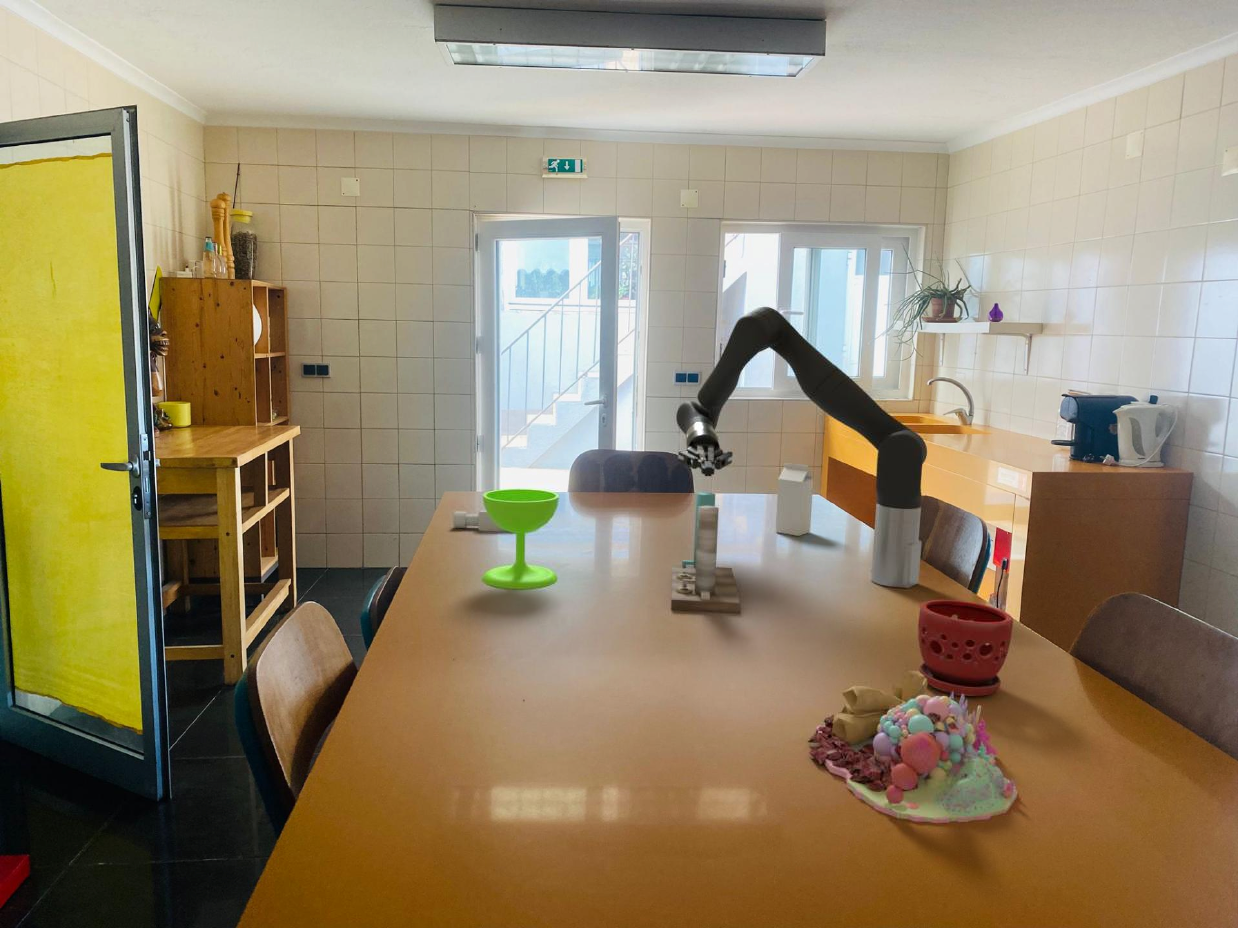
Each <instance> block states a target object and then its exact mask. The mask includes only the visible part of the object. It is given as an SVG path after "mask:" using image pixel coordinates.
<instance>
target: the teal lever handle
mask: <svg viewBox="0 0 1238 928" xmlns="http://www.w3.org/2000/svg"><path fill="white" fill-rule="evenodd" d="M695 496H696V497H695V500H696V501H695V516H694V517H695V519H694V520H695V521H694V523H695V525H694V545H693V546H694V547H693V560H684V559H683V560H682V563H681V566H682V568H686V566H693V567H694V568H696V544H697V520H698V507H699V506H715V507H716V493H712V492H706V491H705V492H704V491H703V492H696V494H695Z"/></svg>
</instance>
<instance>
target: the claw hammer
mask: <svg viewBox="0 0 1238 928" xmlns="http://www.w3.org/2000/svg"><path fill="white" fill-rule="evenodd" d="M452 518H453V521H452V522H453V523H452V525H453V528H454V529H467V527H468V526H469V527H478V531H481V532H482V531H483V532H508V531H507V530H504V529H502V528H501V527H499V526H498V525H497V524H495V523H494V522H493V520H492V519H491V518H490V517H489V515H488V513H487V511H486V510H478V514H476V513H474V514H471V513H469V514H468V512H467V511H457V510H456V511H454V514H453V517H452Z"/></svg>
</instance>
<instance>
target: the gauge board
mask: <svg viewBox="0 0 1238 928" xmlns="http://www.w3.org/2000/svg"><path fill="white" fill-rule="evenodd" d="M719 509H720V508H719V507H717V506H716V505H715V506H699V507H698V520H697V544H696V568H694V567H693V565H686V568H682V565H679V564H678V565H677V564H675V565H674V564H672V566H671V567H672V568H671V599H670V601H671V602H670V603H671V604H670V605H671V606H670V610H673V611H689V612H691V611H693V612H694V611H695V612H711V613H712V612H713V613H715V612H716V613H729V614H730V613H732V614H734V613H735V614H740V611H741V610H740V609H741V607H740V605H741V601H740V597H739V593H738V590H737V585H736V582H735V578H734V577H735V576H734V571H733V569H732V567H725V566H724V567H723V566H722V567H719V566H717V557H718V556H717V553H718V550H717V549H718V532H719V531H718V530H719V529H718V527H719Z"/></svg>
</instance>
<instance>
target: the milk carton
mask: <svg viewBox="0 0 1238 928" xmlns="http://www.w3.org/2000/svg"><path fill="white" fill-rule="evenodd" d="M809 469H810V466H809V465H807V464H806V465H804V464H796V463H788V462H785V463H784V467H783V469H782V471H781V473H780V474H779V476H778V479H777V480H778V481H777V494H776V495H777V497H776V498H777V499H776V515H775V533H777V534H778V533H779V534H785V535H789V536H797V537H800V536H803V535H805V534H808V533H811V525H812V524H811V523H812V521H811V519H812V509H813V508H812V507H813V493H814V490H813V489H814V488H813V487H814V478H813V476H812V474H811V471H810V470H809Z"/></svg>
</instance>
